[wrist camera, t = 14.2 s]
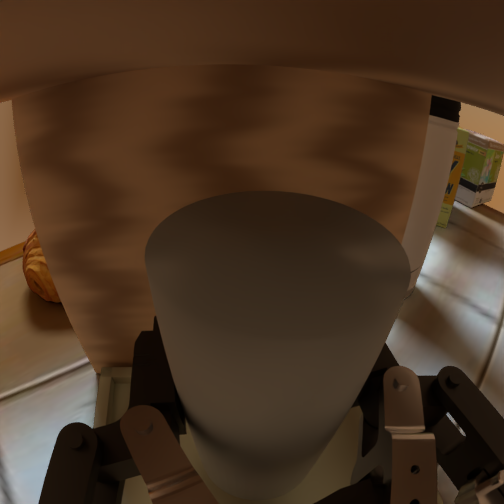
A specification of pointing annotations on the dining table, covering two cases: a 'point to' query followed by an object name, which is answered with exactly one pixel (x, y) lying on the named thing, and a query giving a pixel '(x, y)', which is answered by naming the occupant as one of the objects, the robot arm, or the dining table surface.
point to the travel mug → (431, 182)
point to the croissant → (38, 270)
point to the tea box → (479, 170)
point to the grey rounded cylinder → (271, 326)
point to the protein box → (453, 177)
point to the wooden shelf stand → (221, 140)
